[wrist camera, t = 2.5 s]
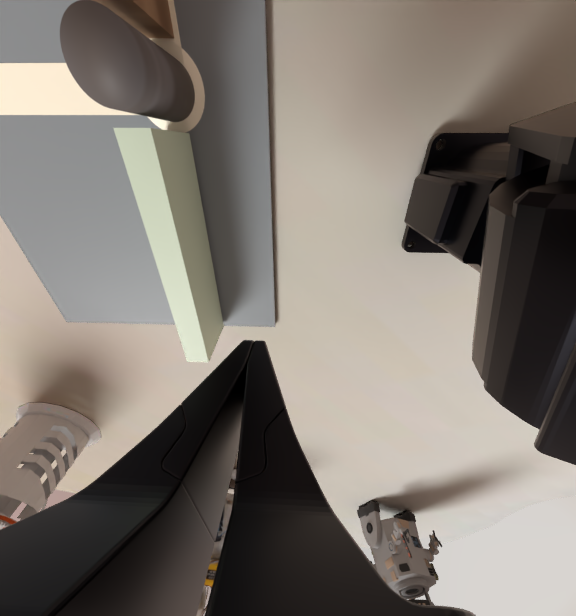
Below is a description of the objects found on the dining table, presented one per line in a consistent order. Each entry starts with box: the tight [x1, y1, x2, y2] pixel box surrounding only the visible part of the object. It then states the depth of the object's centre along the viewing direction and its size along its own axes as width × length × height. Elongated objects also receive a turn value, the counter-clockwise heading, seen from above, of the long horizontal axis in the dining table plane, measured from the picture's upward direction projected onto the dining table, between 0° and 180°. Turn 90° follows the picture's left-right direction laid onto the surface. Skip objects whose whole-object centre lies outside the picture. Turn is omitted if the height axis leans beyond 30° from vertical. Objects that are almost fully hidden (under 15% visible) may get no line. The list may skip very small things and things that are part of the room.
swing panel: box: [113, 128, 224, 362], centre depth 15 cm, size 2×13×4 cm, turn 0°
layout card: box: [0, 0, 275, 327], centre depth 13 cm, size 18×30×1 cm, turn 0°
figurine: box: [357, 501, 442, 606], centre depth 35 cm, size 9×12×15 cm
